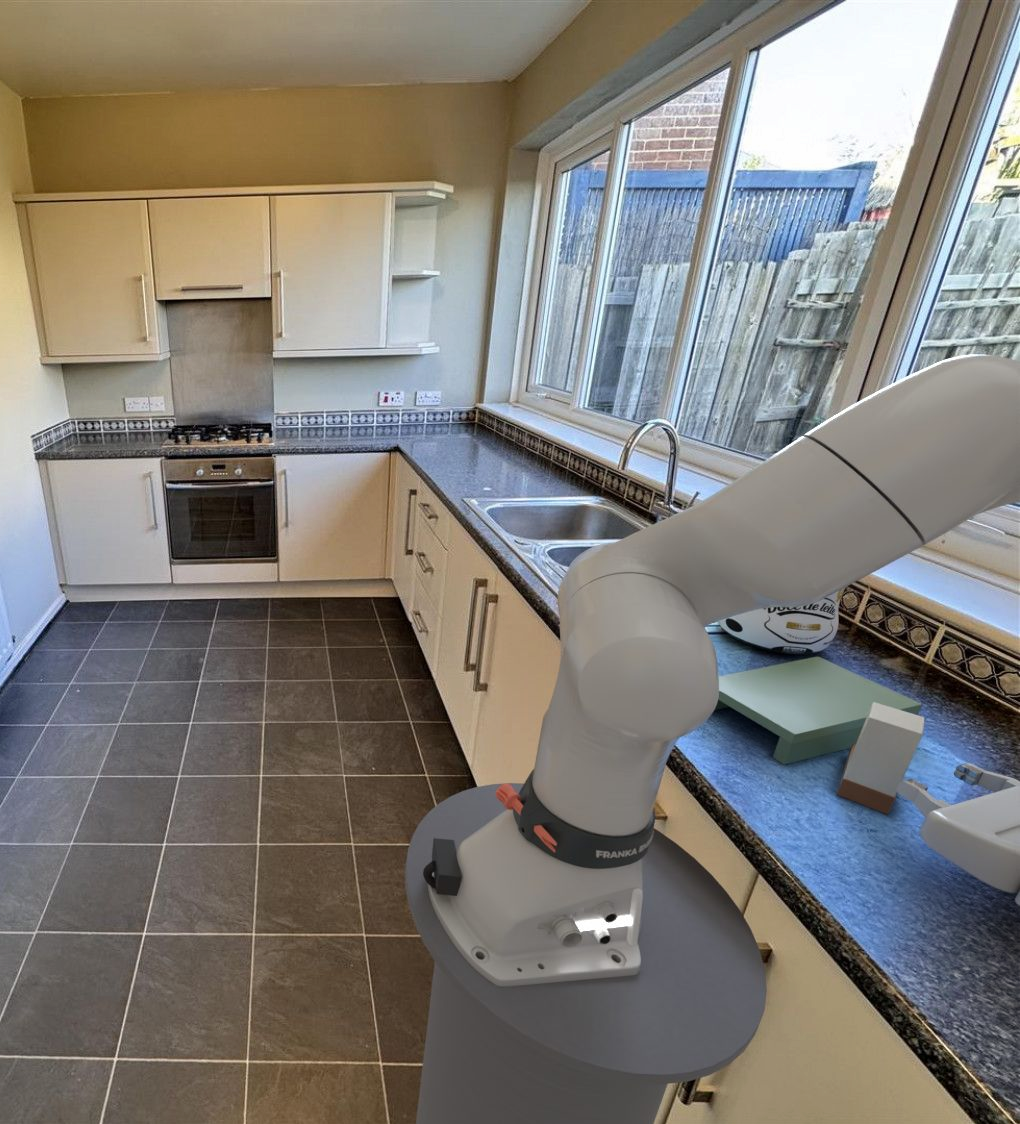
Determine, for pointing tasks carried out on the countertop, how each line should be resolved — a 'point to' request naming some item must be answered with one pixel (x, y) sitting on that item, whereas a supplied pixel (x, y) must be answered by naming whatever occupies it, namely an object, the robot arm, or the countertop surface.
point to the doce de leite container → (788, 626)
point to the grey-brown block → (880, 757)
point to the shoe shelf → (808, 705)
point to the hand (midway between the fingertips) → (931, 776)
